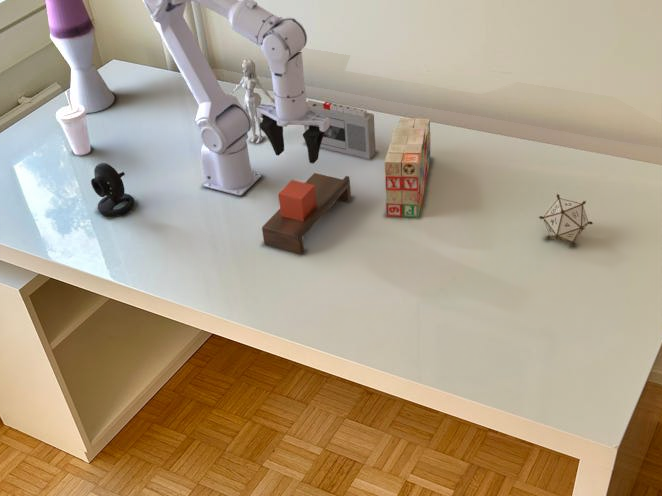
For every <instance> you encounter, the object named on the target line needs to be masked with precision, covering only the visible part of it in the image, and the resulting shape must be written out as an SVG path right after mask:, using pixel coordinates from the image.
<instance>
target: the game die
mask: <svg viewBox="0 0 662 496" xmlns="http://www.w3.org/2000/svg"><path fill="white" fill-rule="evenodd" d="M556 198H557V199H556V200H555V202H554V203H553V204H552V206H551V207H550V208H549V209H548V210H547V211H546V213H545V214H544V215H543V216H542V215H540V216H538V219H539V220H543V222H544V225H545V228H546V230H547V233H548V235H547V236H546V240H550V238H554V240H557V239H558V240H562V241H566V242H569V243H571V245H572V246H573V247H575V246H576V243H575V241H576V240H577V238H578V237H579V236H580V235H581V233H582V232H583V231H584V230H586V227H587V226H588V225H593V224H594V222H593V221H589V219H588V216H587V212H586V209H585V207H584V205H585V204H587V200H583V201H582V202H577V201H573V200H569V199H565V198H561V197H560V194H559V193H556Z"/></svg>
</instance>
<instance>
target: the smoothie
mask: <svg viewBox="0 0 662 496" xmlns="http://www.w3.org/2000/svg"><path fill="white" fill-rule="evenodd" d="M65 96H66V98H67V102H68V105H66V106H63V107H61V108H59V109H58V110H57V111H56V113H55V117H56V120H57V121H58V122H59V123H60V125H61V128H62V130H63V131H64V134H65V136H66V138H67V140H68V142H69V145H70V146H71V149H72V151H73V153H74V154H75V155H76V156H85V155H88V154H89V153H90V152H91V151H92V149H91V143H90V136H89V130H88V123H87V118H86V116H87V113H86V111H85V108H84V107H83V106H81V105H72V104H71V100H70V94H69V91H68V90H66V91H65Z"/></svg>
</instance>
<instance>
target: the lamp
mask: <svg viewBox="0 0 662 496" xmlns="http://www.w3.org/2000/svg"><path fill="white" fill-rule="evenodd" d="M45 5H46V13H47V19H48V27H49V37H50V39H51V41H52V42H53V43H54V45H55V46H56V48H57V49H58V51H59V52H60V54H61V56H63V57H64V60H65V61H66V62H67V64H68V65H69V67H70V95H69V97H70V100H71V104H72V105H81V106H83V107H84V108H85V111H86V114H91V113H92V114H93V113H97V112H100V111H103V110H105V109H107V108H109V107H110V106H112V104H113V103H114V101H115V96H114V94H113V92H112V91H111V89H110V88H109V87H108V85H107V83H106V82H105V80H104V79H103V77H102V75H101V74H100V72H99V71H98V69H97V68H96V65H94V51H95V35H96V33H95V32H96V27H95V25H94V24H93V22H92V20H91V17H90V15H89V12H88V10H87V7H86V5H85V3H84V1H83V0H45Z"/></svg>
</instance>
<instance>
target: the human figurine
mask: <svg viewBox="0 0 662 496" xmlns="http://www.w3.org/2000/svg"><path fill="white" fill-rule="evenodd" d="M241 66H242V72H243V76H242V77H241V80H240V82H239V83H238V84H236V85H235V88H234V89H233V90H232V91H231V92H230V94H229V95H232V96H233V95H234V93H235V91H237V90H238V89H239V88H241V87H242V89H244V90H245V95H244V100H243V107H244V109H245V110H246V111H247V112H248V113H249V115H250V117H251V121H252V127H251V130H252V138H251V139H250V142H251V143H255V144H260V143H261V142H262V140H264V139H263V138H264V136H263V135H262V130H261V128H260V123H261V122H262V119H261V118H258V117H257V110H256V108H257V107H258V106H260V105H261V104H262V97H261V94H260V93H259V92H255V87H256V86H257V87H258V88H259V89H261V91H262V92H263V94H264V95H265V96H266V97H267V98H269V100H270V103H271V104H273V105H275V98H274V97H272V96H271V95H270V93H269V92H268V90H267V89H265V88H263V85H262V84H261V82H260V80H259V78H258V75H257V72H256V63H255V61H254V60H252V59H250V58H249V59H243V62H242V65H241ZM256 124H257V127H256ZM257 129H258V135H257V134H256V133H257V132H256V130H257Z"/></svg>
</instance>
